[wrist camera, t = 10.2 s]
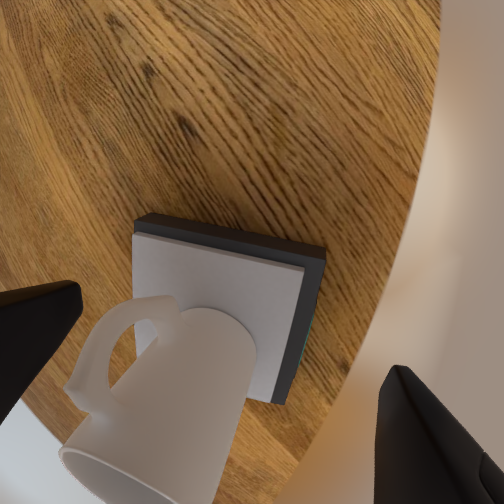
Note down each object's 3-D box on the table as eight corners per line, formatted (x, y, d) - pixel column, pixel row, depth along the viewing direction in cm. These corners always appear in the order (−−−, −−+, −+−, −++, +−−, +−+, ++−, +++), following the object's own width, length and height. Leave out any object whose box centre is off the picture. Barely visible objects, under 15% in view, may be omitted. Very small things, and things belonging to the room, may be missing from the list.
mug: (270, 384, 20) (223, 544, 9) (183, 383, 22) (108, 510, 11) (235, 244, 17) (106, 399, 6) (136, 259, 19) (-9, 368, 8)
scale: (328, 248, 19) (329, 265, 16) (289, 387, 23) (284, 412, 21) (150, 212, 21) (128, 222, 18) (150, 348, 25) (134, 368, 22)
